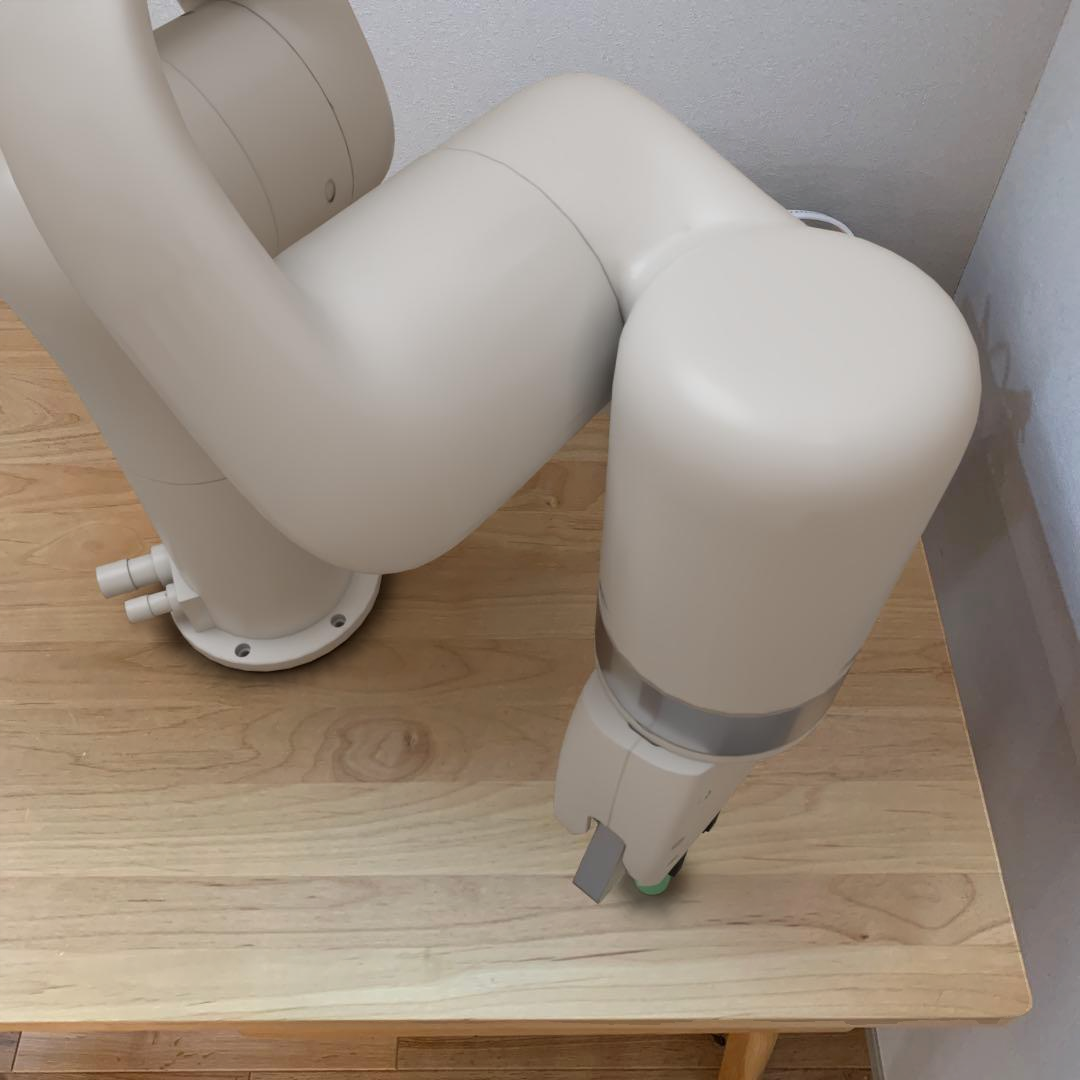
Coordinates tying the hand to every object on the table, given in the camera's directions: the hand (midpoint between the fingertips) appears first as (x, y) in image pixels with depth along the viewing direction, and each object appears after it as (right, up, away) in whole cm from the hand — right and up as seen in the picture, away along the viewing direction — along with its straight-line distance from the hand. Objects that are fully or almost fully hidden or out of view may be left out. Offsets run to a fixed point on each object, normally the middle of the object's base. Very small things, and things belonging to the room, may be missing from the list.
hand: (665, 828), depth 45 cm
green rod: (0, -4, +6) cm, 8 cm away
